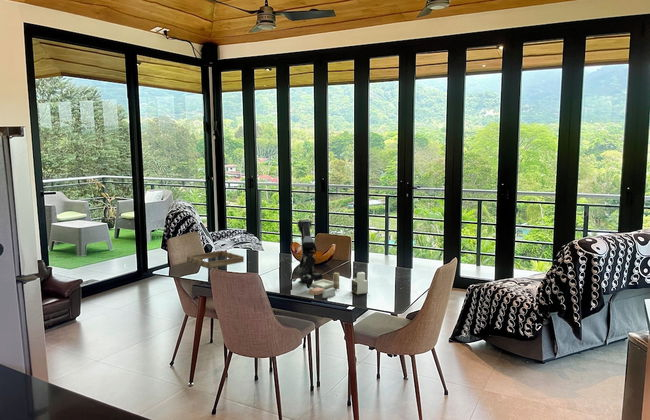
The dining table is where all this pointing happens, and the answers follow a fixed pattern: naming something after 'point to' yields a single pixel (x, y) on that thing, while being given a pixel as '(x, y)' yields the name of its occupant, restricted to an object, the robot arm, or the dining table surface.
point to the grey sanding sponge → (328, 292)
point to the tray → (323, 284)
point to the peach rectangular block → (316, 291)
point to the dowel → (336, 280)
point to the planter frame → (198, 261)
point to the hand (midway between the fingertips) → (308, 288)
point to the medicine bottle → (359, 283)
